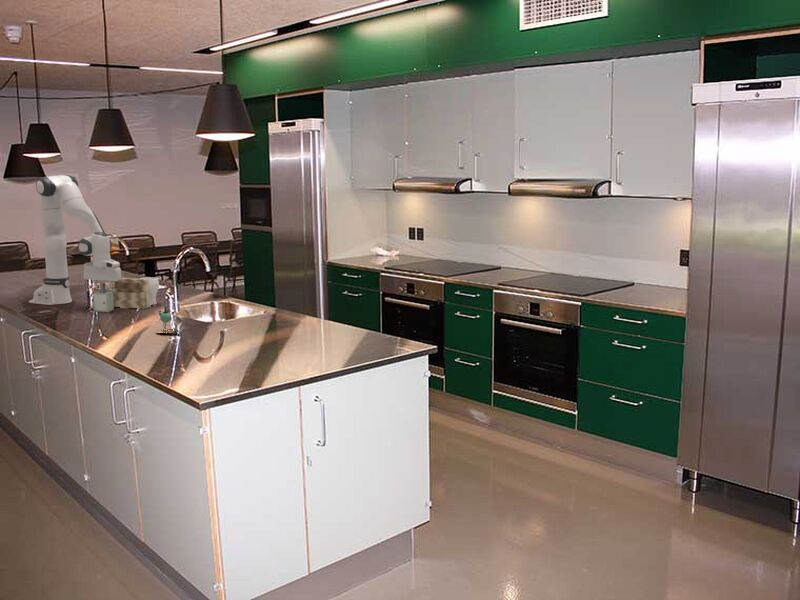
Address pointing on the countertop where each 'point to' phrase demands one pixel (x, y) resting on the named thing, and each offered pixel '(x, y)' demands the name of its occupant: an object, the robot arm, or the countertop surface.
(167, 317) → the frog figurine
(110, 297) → the white square bottle
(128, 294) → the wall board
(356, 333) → the countertop surface
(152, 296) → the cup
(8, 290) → the countertop surface
